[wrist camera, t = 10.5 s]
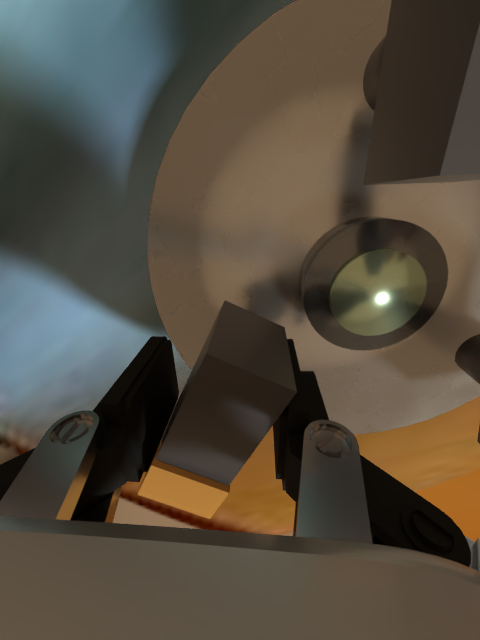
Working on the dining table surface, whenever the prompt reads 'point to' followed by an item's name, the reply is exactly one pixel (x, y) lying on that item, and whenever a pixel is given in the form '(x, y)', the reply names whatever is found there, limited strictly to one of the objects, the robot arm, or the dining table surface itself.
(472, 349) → the grey and orange block
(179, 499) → the grey chuck jaw
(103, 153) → the dining table surface
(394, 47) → the orange-tipped grey bar
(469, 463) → the dining table surface
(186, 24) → the dining table surface
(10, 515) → the robot arm
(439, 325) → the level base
